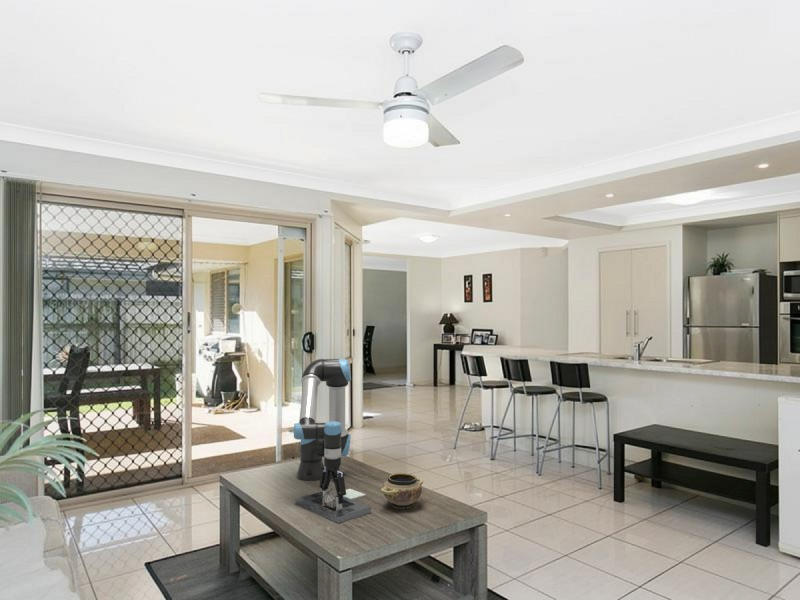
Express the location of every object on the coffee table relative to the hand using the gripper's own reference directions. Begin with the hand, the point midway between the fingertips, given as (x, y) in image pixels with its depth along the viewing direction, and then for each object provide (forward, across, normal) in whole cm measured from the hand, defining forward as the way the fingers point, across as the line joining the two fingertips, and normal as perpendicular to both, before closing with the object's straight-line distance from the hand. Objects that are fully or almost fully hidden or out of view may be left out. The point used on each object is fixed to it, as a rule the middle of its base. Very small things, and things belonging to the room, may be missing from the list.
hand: (332, 507), depth 242 cm
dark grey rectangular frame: (0, 0, 0) cm, 0 cm away
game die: (0, 0, 0) cm, 0 cm away
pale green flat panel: (0, -9, +16) cm, 18 cm away
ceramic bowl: (0, +19, +25) cm, 31 cm away
